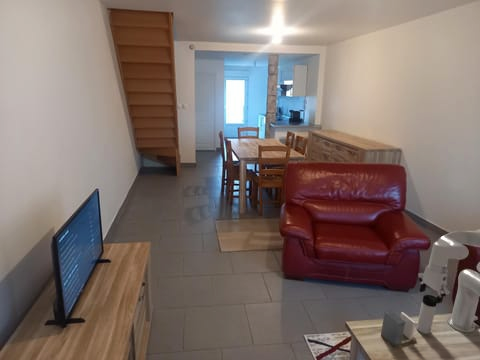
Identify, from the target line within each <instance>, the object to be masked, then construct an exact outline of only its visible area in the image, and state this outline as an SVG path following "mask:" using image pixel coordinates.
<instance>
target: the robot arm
mask: <svg viewBox="0 0 480 360" xmlns="http://www.w3.org/2000/svg"><path fill="white" fill-rule="evenodd" d="M465 245H467V246H471V247H476V248H480V228H478V229H476V230H456V231H451V232H449V233H446V234H444V235H442V236H440V237H439V238H438V239H437V241H435V242H433V244H432V248H431V253H430V258H429V262H428V264H427V266H426V267H425V270H424V272H420V273H417V275H418V279H419V280H418V281H419V285H420V286H419V292H420V293H423V292H426V289H427V286H428V287H430V288H431V289H433V290H434V291H435V292H437V294H438V295H437V300H436V303H437V304H436V305H438V304H440V303H441V304H442V302H443V300H444V297H447V296H448V295H449V294H451V291H450V290H449V289H448V287H447V284H448V272H449V269H448V263H449V260H458V261H459V260H464V259H466V258H468V257H469V253H470V252H469V249H468V247H467V246H465ZM476 270H477V271H478V272H477V271H475V270H473V269H469V268H464V269H463V270H461V271H460V273H459V275H458V279H457V280H458V282H457V283H458V286H457V291H456V292H457V293H456V296H455V300H454V303H453V304H454V305H453V308H452V313H451V315H449V316H447V319H446V322H447V324H448V325H449V326H450V327H452V328H453V329H454V330H457V331H459V332H463V333H473V332H474V331H475V329H476V325H474V323H473V322H474V321H477V320H479V318H478V316H477V315H476V312H477V307H478V303H479V300H480V299H479V298H480V261H478V263H477V265H476Z"/></svg>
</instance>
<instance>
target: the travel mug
mask: <svg viewBox="0 0 480 360" xmlns="http://www.w3.org/2000/svg"><path fill="white" fill-rule="evenodd" d="M436 300H437V297H436V296H434V295H431V294H424V295H423V298H422V301H421V305H420V310H419V313H418V314H419V315H418V320H417V324H416V331H417V332H418V333H420V334H422V335H423V336H425V335H427V336H428V335H430V334H431V330H432V326H433V321H434V317H435V312H436V308H437V305H438V304H437V303H436Z"/></svg>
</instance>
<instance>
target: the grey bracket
mask: <svg viewBox="0 0 480 360" xmlns="http://www.w3.org/2000/svg"><path fill="white" fill-rule="evenodd" d="M381 325H382V327H381V332H380V337H381V338H382V339H383V340H385V341H386V342H387V344H389V346H391V347H392V348H393V349H396V348H400V347H403V346H406V345H410V344H412V343H416V342H417V338H416V337H414V336H413V337H412V340H413V341H412V340H410V339H409V338H407V337H406V336H405V335H404V334H403V331H404V326H405V321H403V320H402V319H401V318H400V316H399V315H397V313H395V312H394V311H392V310H388V311H387V310H386V311H384V315H383V320H382V324H381Z"/></svg>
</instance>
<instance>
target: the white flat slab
mask: <svg viewBox="0 0 480 360" xmlns="http://www.w3.org/2000/svg"><path fill="white" fill-rule="evenodd" d="M399 315H400V316H399V317H400V318H401V319H402V320H403V321H405V326H404V331H403V334H404V335H405V336H406V337H407V338H409V339H410V340H412V337H414V332H415V328H416V321H415V320H413V318H411V317H410V316H409V315H407V314H406V313H405V312H403V311H401V312H400V314H399ZM412 341H413V340H412Z"/></svg>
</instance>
